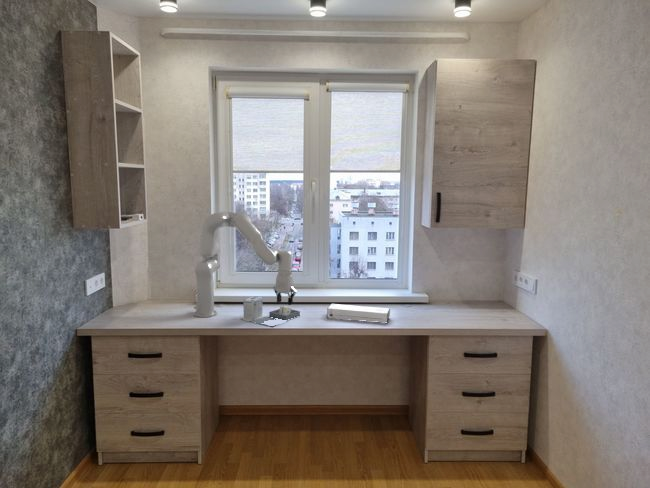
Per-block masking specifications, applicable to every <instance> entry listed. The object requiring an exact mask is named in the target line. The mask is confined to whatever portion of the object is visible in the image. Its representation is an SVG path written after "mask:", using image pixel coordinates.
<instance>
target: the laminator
mask: <svg viewBox="0 0 650 488" xmlns="http://www.w3.org/2000/svg"><path fill="white" fill-rule="evenodd" d="M390 312H391V308H389V307H388V308H387V307H376V306H364V305H352V304H339V303H331V304H330V305H329V306H328V307H327V308H326V313H327V314H326V318H327V319H329V318H337V319H336V320H340V319H351V320H366V321H378V322H387V323H388V321H389V318H390V316H391V315H390V314H391V313H390ZM351 320H350V321H351Z"/></svg>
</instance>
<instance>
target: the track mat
mask: <svg viewBox="0 0 650 488" xmlns="http://www.w3.org/2000/svg"><path fill="white" fill-rule="evenodd" d="M239 319H240V320H242V319H243V320H242V321H246V320H247V321H246V322H250V321H251V322H250V323H254V322H256V323H255V324H258V323H260V324H259V325H261V323H264V321H268V320H274V319H275V318H271V317H269V316H267V315H263V314H262V316H260V317H258V318H256V319H255V320H248V319H244V316H242V317H240V318H239ZM275 320H276V319H275Z"/></svg>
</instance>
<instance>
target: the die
mask: <svg viewBox="0 0 650 488" xmlns="http://www.w3.org/2000/svg"><path fill="white" fill-rule="evenodd" d="M279 309H280V310H279V314H282V315H288V314H290V312H291V309H292V307H291V306H285V305H280V306H279Z"/></svg>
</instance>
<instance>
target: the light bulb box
mask: <svg viewBox="0 0 650 488" xmlns="http://www.w3.org/2000/svg"><path fill="white" fill-rule="evenodd" d="M242 303H243V304H242V305H243V317H244V319H248V320H255V319H256V318H258V317H260V316H262V315H263V296H253V295H252V296H250V297H248V298H246V299H244V300H243V302H242Z"/></svg>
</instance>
